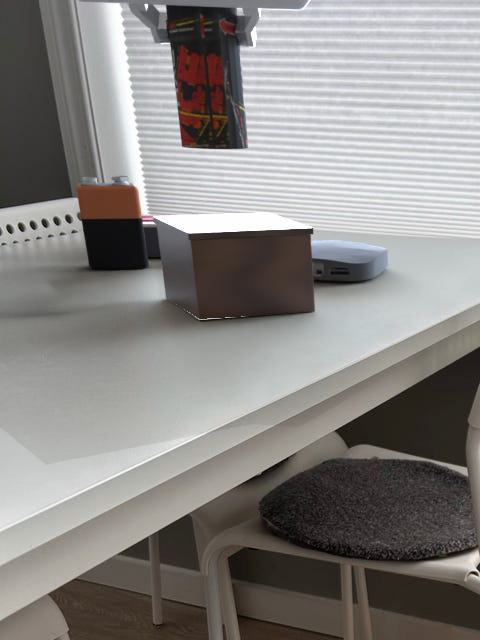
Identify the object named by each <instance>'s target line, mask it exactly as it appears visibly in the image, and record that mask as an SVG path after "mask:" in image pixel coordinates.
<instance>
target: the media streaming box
mask: <svg viewBox="0 0 480 640" xmlns="http://www.w3.org/2000/svg"><path fill="white" fill-rule="evenodd" d="M311 248H312V266H313V281H324V282H325V281H326V282H361V281H366V280H371V279H374V278H376V277H378V276H379V275H380V274H381V273H383V272H384V271H385V270H386V269H387V268H388V266H389V258H388V257H389V255H388V253H389V252H388V251H389V250H388V248H386V247H382V246H375V245H372V244H370V243H362V242H357V241H349V240H340V239H339V240H338V239H336V240H335V239H318V240H311Z"/></svg>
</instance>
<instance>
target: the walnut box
mask: <svg viewBox="0 0 480 640" xmlns="http://www.w3.org/2000/svg"><path fill="white" fill-rule="evenodd" d="M153 221H154V223H155V224H157V232H158V240H159V247H160V255H161V257H160V261H161V269H162V277H163V284H164V292H165V298H166V300H168V301H169V300H170V301H169V302H171V303H172V302H173V303H172V304H174V303H175V304H177V305H178V306H180V307H181V308H183V309H185V310H186V311H188V312H190V313H191V314H193V315H194V316H196V317H197V318H199V319H207V318H225V317H241V316H255V317H264V316H263V315H267V316H276V315H277V316H278V315H290V314H300V313H311V312H316V306H315V305H316V303H315V288H314V287H315V285H314V280H313V266H312V248H311V241H312V235H314V227H312V226H309V225H306V224H303V223H300V222H298V221H294V220H291V219H288V218H285V217H282V216H279V215H277V214H274V213H270V212H255V213H254V212H253V213H224V214H223V213H222V214H202V215H190V216H175V215H171V216H160V217H153ZM175 304H174V305H175ZM177 305H176V306H177ZM178 306H177V307H178ZM180 307H179V308H180ZM181 308H180V309H181ZM183 309H182V310H183ZM186 311H185V312H186ZM261 315H262V316H261Z"/></svg>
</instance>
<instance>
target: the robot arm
mask: <svg viewBox="0 0 480 640" xmlns="http://www.w3.org/2000/svg"><path fill="white" fill-rule="evenodd" d="M76 1H77V2H80V3H102V4H103V3H104V4H127V5H128V8H129V10H130V12H131V13H132V15H134V16H135V17H136V18H137V19H138V20H140V22H141V23H142V24H143V25H144V26H145V27H146V28H148V29H149V30H150V33H151V35H152V39H153V42H154V44H160V45H170V37H169V28H168V19H167V12H166V11H165V12H164V11H159V10H158V9H157V7H155V5H156V6H166V5H178V6H203V7H229V8H237V9H241V10H242V14H243V15H240V14H237V15H236V25H235V36H236V39H237V40H238V41H237V43H238V45H239V46H240V47H243V48H255V47H256V42H257V41H256V40H257V32H256V31H257V30H256V26H257V24H258V23H259V20H260V18H261V12H262V10H279V11H280V10H281V11H282V10H283V11H284V10H285V11H302V10H304V9H306V7H307V5H309V3H310V1H311V0H76Z"/></svg>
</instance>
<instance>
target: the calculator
mask: <svg viewBox="0 0 480 640" xmlns="http://www.w3.org/2000/svg"><path fill="white" fill-rule="evenodd" d="M190 215H203V214H201V213H198V214H197V213H195V214H194V213H192V214H191V213H182V214H175V215H174V216H190ZM160 216H172V215H171V214H142V221H143V228H144V235H145V243H146V250H147V257H148V258H161V255H160V247H159V240H158V232H157V224H155V223H154V221H153V217H160Z"/></svg>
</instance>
